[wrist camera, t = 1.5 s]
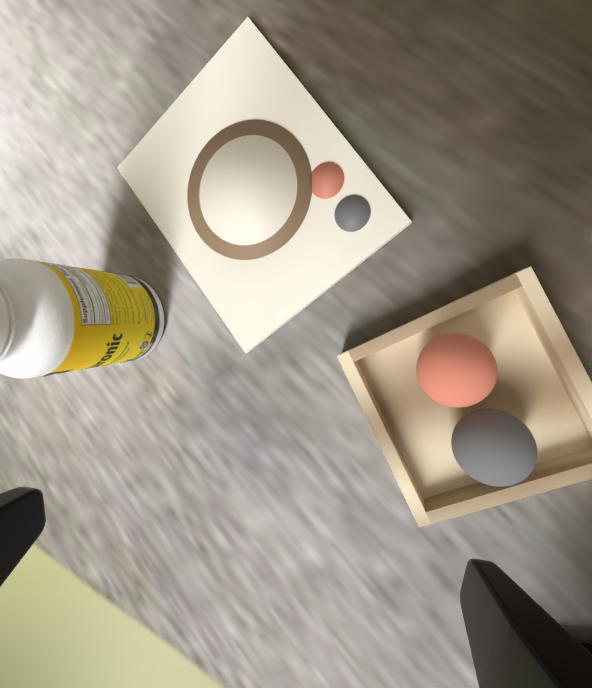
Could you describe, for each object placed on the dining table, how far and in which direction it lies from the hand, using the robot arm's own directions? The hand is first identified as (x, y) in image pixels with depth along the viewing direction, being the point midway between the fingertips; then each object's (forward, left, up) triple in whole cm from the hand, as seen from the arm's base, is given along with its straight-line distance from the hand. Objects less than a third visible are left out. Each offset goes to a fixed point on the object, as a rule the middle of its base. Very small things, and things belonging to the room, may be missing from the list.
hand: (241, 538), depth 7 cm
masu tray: (0, -6, -12) cm, 13 cm away
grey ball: (-2, -7, -11) cm, 14 cm away
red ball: (+2, -6, -11) cm, 13 cm away
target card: (+12, +4, -12) cm, 17 cm away
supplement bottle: (+6, +13, -12) cm, 19 cm away
